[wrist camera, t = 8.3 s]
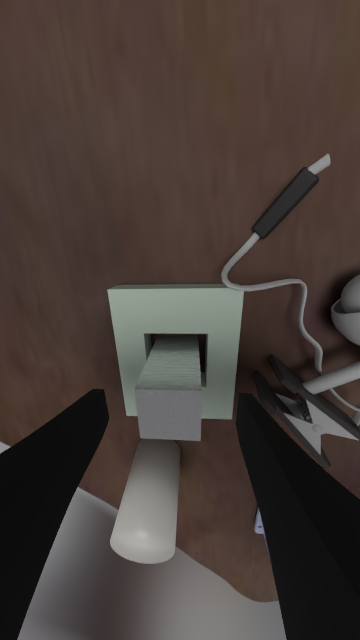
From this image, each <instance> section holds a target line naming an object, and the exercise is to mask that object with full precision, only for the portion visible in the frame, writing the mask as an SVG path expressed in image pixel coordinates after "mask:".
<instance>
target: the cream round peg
mask: <svg viewBox="0 0 360 640" xmlns="http://www.w3.org/2000/svg"><path fill="white" fill-rule="evenodd" d="M180 454H181V451H180V447H179V446H178V444H177V443H176V442H175V441H174V440H168V439H146V438H143V439H142V440H140V442H139V443H138V445H137V449H136V452H135V456H134V459H133V463H132V466H131V470H130V473H129V477H128V480H127V484H126V487H125V491H124V494H123V498H122V501H121V505H120V508H119V512H118V515H117V519H116V522H115V526H114V529H113V533H112V536H111V540H110V544H111V547H112V548H113V549H114V551H115V552H116V553H117V554H119V555H120V556H122V557H124V558H126V559H128V560H131V561H135V562H139V563H147V564H151V563H152V564H153V563H160V562H164V561H167V560H169V559H170V558H171V557H173V555H174V553H175V540H176V523H177V506H178V489H179V471H180Z"/></svg>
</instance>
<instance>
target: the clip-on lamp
mask: <svg viewBox="0 0 360 640" xmlns="http://www.w3.org/2000/svg"><path fill="white" fill-rule="evenodd" d="M329 165H330V156H329V154H327V155H325V156H324V157H323V158H321V159H320V160H318V161H317V162H316V163H314V164H313V165H311V166H310V167H309V168H306V167H304V168H302V169H301V170H300V171H299V173H298V174H297V175H296V176H295V177H294V178H293V180H292V181H291V182H290V183H289V184H288V186H287V187H286V188H285V189H284V190H283V191H282V193H281V194H280V195H279V196H278V197H277V199H276V200H275V201H274V202H273V203H272V205H271V206H270V207H269V208H268V209H267V210H266V212H265V213H264V214H263V215H262V216H261V218H260V219H259V220H258V221H257V222H256V223H255V225H254V226H253V228H252V229H253V231H254V233H253V235H252V236H251V237H250V238H249V239H248V241H247V242H246V243H245V244H244V245H243V246H242V247H241V248H240V249H239V250H238V251H237V252H236V253H235V254H234V256H233V257H232V258H231V259H230V260H229V261H228V262H227V264H226V265H225V266H224V268H223V271H222V273H221V278H222V282H223V283H224V284H225V285H226V286H227V287H228V288H231V289H234V290H236V291H256V290H263V289H268V288H273V287H277V286H282V285H287V284H292V283H299V284H300V285H301V289H302V293H301V301H300V306H299V312H298V327H299V329H300V332H301V333H302V335H303V336H304V337H305V338H306V339H307V340H308V341H309V342H310V343H311V344H312V345H313V346H314V348H315V351H316V353H315V368H316V371H317V373H318V375H319V377H317V378H314V379H312V380H309V381H306V382H304V381H302V380H301V379H300V378H298V377H297V376H296V375H294V374H293V373H292V372H290V371H289V370H288V369H287V368H286V367H285V366H284V364H283V363H282V362H281V361H279V360H278V359H277V358H275V357H274V356H273V355H271V356H270V357H269V360H270V362H271V364H272V366H273V368H274V371H275V373H276V375H277V377H278V379H279V381H280V382H281V383H282V384H283V385H284V386H285V387H286V388H288V389H289V390H290V391H291V392H292V393H294V394H295V393H298V395H299V398H300V401H299V402H298V401H295V400H293V399H290V398H287V397H285V396H282V395H279V394H277V393H275V392H274V391H273V390H272V388H271V387H270V386H269V385H268V382H267V380H266V379H265V378H264V377H263V376H262V375H261V374H260V373H259V372H258V371H256V372H255V373H254V378H255V382H256V387H257V391H258V395H259V399H260V401H261V403H262V404H263V405H264V406H265V407H266V408H267V409H268V410H269V411H270V412H271V413H272V414H273V413H274V412H275V413H276V414H277V415H278V416H279V417H280V418H281V419H282V421H283V422H284V423H285V424H286V425H287V426H288V427H289V429H290V430H291V431H292V432H293V433H294V434H295V435H296V437H297V438H298V439H299V440H300V441H301V442H302V443H303V445H304V446H305V447H306V448H307V449H308V450H309V451H310V453H311V454H312V455H313V456H314V457H315V458H316V459H317V460H318V462H319V463H320V464H321V465H322V466H323V467H324V468H327V467H329V466H331V465H330V462H329V460H328V458H327V457H326V455H325V453H324V451H323V449H322V447H321V435H322V434H325V433H328V434H332V435H337V436H341V437H346V438H350V439H355V440H359V441H360V428H359V427H358V425H359V424H360V405H357V406H352V405H350V404H349V403H347V402H346V401H345V400H343V399H342V398H341V397H340V396H339V395H338V394H337V393H336V392H335V391H334V390H333V389H332V388H334V387H336V386H339V385H342V384H345V383H347V382H350V381H353V380H356V379H359V378H360V361H358V362H355V363H353V364H350V365H348V366H345V367H342V368H340V369H337V370H335V371H332V372H330V373H327V374H323V372H322V368H321V362H322V356H323V352H322V348H321V346H320V345H319V344H318V343H317V342H316V341H315V340H314V339H313V338H312V337H311V336H310V335H309V334H308V333H307V332H306V330H305V328H304V325H303V312H304V307H305V302H306V297H307V286H306V284H305V283H303V282H302V281H301V280H300V279H285V280H278V281H273V282H269V283H264V284H258V285H251V286H240V285H236V284H233V283H231V282H230V281H229V280H228V279H227V274H228V272H229V270H230V269H231V268H232V266H233V265H234V264H235V263H236V262H237V261H238V260H239V259H240V258H241V257H242V256H243V255H244V254H245V253H246V252H247V251H248V250H249V249H250V248H251V247H252V246H253V245H254V244H255V242H256V241H257V240H258V239H259V238H260V237H261V238H262V239H264V238H266V237H267V236H268V235H269V234H270V233H271V232H272V231H273V229H274V228H275V227H276V226H277V225H278V224H279V223H280V222H281V221H282V220H283V219H284V218H285V217H286V216H287V215H288V214H289V213H290V212H291V210H292V209H293V208H294V207H295V206H296V205H297V204H298V203H299V202H300V201H301V200H302V199H303V198H304V197H305V196H306V195H307V194H308V192H309V191H310V190H311V189H312V188H313V187H314V186H315V185H316V184H317V183H318V181H319V178H318V177H317V176H316V174H317V173H319V172H320V171H322V170H323V169H325V168H326V167H328V166H329ZM331 317H332V321H333V323H334V325H335V327H336V328H337V329H338V331H339V332H340V333H341V334H343V335H344V336H345V337H346V338H347V339H348V340H350V341H351V342H353V343H355V344H357V345H359V346H360V274H359V275H357V276H356V277H354V278H353V279H351V280H350V281H349V282H348V283H347V284H346V286H345V287H344V289H343V291H342V293H341V299H339V300H338V301H336V302H335V303H334V305H333V306H332V307H331ZM325 390H329V391H330V393H331V394H332V395H333V396H334V397H335V398H337V399H338V400H339V401H340V402H341V403H343V404H344V405H346V406H347V407H349V408H351V409H353V410H356V411H355V413H354V415H353V417H352V419H351V418H350V417H349V416H348V415H347V414H346V413H344V412H343V411H342V410H341V409H339V408H338V407H337V406H335V405H334V404H333V403H331V402H330V401H329V400H327V399H326V398H325V397H323V396H322V395H321V394H319V393H320V392H322V391H325Z"/></svg>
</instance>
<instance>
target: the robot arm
mask: <svg viewBox="0 0 360 640" xmlns="http://www.w3.org/2000/svg"><path fill="white" fill-rule="evenodd" d="M108 421H109V414H108V409H107V403H106V398H105V393H104V389H92V390H91V391H89V392H88V393H87V394H85V395H84V396H83V397H81V398H80V399H79V400H77V401H76V402H75V403H73V404H72V405H71V406H69V407H68V408H67V409H65V410H64V411H63V412H61V413H60V414H59V415H57V416H56V417H55V418H53V419H52V420H50V421H49V422H47V423H46V424H45V425H43V426H42V427H40V428H39V429H37V430H36V431H35V432H33V433H32V434H30V435H29V436H27V437H26V438H24V439H23V440H21V441H20V442H18V443H17V444H15V445H14V446H12V447H10V448H9V449H7V450H5V451H4V452H2V453H1V454H0V640H17V638H18V636H19V633H20V630H21V627H22V624H23V621H24V619H25V616H26V613H27V610H28V607H29V605H30V602H31V599H32V597H33V594H34V592H35V589H36V586H37V583H38V581H39V578H40V576H41V573H42V570H43V568H44V565H45V563H46V560H47V558H48V555H49V552H50V550H51V547H52V545H53V542H54V540H55V537H56V535H57V532H58V530H59V528H60V525H61V523H62V520H63V518H64V516H65V513H66V511H67V508H68V506H69V504H70V501H71V499H72V497H73V495H74V493H75V491H76V489H77V487H78V485H79V483H80V481H81V479H82V477H83V475H84V473H85V471H86V469H87V467H88V465H89V463H90V461H91V459H92V458H93V456H94V454H95V452H96V450H97V448H98V446H99V444H100V442H101V439H102V437H103V435H104V432H105V429H106V427H107V424H108ZM236 426H237V432H238V437H239V442H240V447H241V450H242V453H243V457H244V460H245V464H246V467H247V470H248V474H249V477H250V480H251V484H252V487H253V490H254V494H255V497H256V500H257V504H258V510H257V515H256V520H255V525H254V529H255V532H256V533H259V534H264V538H265V542H266V546H267V550H268V554H269V558H270V562H271V566H272V570H273V575H274V579H275V584H276V589H277V594H278V599H279V604H280V609H281V614H282V619H283V624H284V629H285V634H286V639H287V640H360V499H358V498H357V497H356V496H355V495H353V494H352V493H351V492H350V491H348V490H347V489H346V488H345V487H344V486H342V485H341V484H340V483H339V482H338V481H337V480H335V479H334V478H333V477H332V476H331V475H330V474H329V473H328V472H326V471H325V470H324V469H323V468H322V467H321V466H320V465H319V464H317V463H316V462H315V461H314V460H313V459H312V458H311V457H310V456H309V455H308V454H307V453H306V452H305V451H304V450H303V449H302V448H301V447H300V446H299V445H298V444H297V443H296V442H295V441H294V440H293V439H292V438H291V437H290V436H289V435H288V434H287V433H286V432H285V431H284V430H283V429H282V428H281V427H280V426H279V424H278V423H277V422H276V421H275V420H274V419H273V418H272V417H271V416H270V414H269V413H268V412H267V411H266V410H265V409H264V408H263V406H262V405H261V404H260V403H259V402H258V401H257V399H256V398H255V397H254V396H253V395H252V394H251V393H239V399H238V409H237V418H236Z"/></svg>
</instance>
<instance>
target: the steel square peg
mask: <svg viewBox="0 0 360 640" xmlns="http://www.w3.org/2000/svg"><path fill="white" fill-rule="evenodd" d="M134 391H135V399H136V407H137V415H138V423H139V431H140V438H146V439H168V440H190V441H201V405H202V386H201V372H200V359H199V345H198V334H168V333H158V336H157V338H156V340H155V343H154V345H153V347H152V350H151V352H150V354H149V357H148V359H147V361H146V363H145V366H144V368H143V370H142V373H141V375H140V377H139V380H138V382H137V384H136V386H135V389H134Z"/></svg>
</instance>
